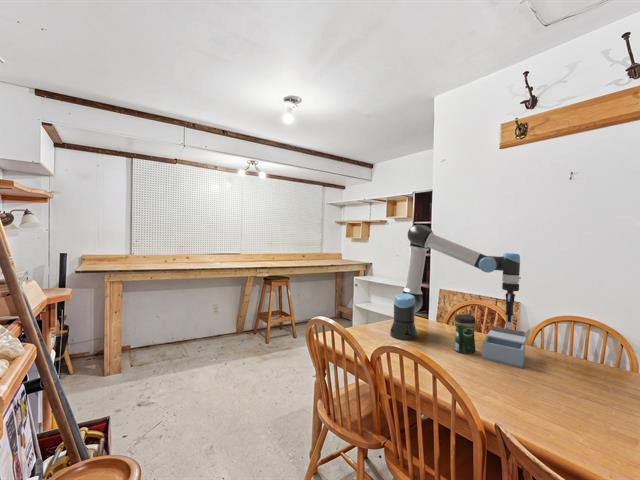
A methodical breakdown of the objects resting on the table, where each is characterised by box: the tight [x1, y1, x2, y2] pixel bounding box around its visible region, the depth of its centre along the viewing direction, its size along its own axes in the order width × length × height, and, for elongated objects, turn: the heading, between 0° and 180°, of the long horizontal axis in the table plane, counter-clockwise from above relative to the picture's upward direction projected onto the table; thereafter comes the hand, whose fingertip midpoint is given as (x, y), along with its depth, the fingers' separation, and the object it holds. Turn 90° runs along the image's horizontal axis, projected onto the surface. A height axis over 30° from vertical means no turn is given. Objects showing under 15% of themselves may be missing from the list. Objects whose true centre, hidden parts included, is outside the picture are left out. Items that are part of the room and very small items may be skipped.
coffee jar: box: [453, 313, 477, 354], centre depth 155 cm, size 10×8×19 cm
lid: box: [486, 325, 527, 344], centre depth 152 cm, size 16×12×3 cm
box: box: [481, 336, 526, 369], centre depth 145 cm, size 16×12×8 cm
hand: (509, 327), depth 161 cm, fingers closed
